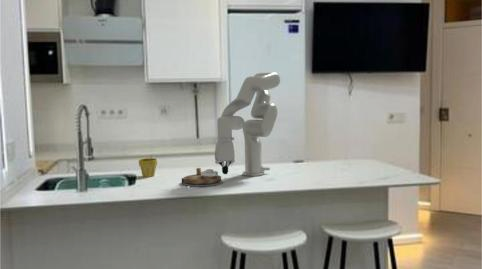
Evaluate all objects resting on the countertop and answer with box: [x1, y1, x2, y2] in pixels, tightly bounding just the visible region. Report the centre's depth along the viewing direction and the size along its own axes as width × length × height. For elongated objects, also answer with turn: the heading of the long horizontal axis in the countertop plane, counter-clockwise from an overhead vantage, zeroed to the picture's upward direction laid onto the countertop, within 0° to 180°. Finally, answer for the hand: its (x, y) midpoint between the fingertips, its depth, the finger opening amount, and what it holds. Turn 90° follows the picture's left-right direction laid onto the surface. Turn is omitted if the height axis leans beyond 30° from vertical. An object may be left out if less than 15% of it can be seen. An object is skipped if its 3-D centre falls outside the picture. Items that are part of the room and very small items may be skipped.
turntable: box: [182, 167, 222, 185], centre depth 261 cm, size 20×20×5 cm
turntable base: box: [181, 177, 224, 188], centre depth 261 cm, size 22×22×3 cm
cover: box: [201, 168, 219, 179], centre depth 262 cm, size 9×9×4 cm
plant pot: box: [138, 157, 158, 178], centre depth 283 cm, size 10×10×10 cm
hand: (225, 173), depth 264 cm, fingers closed
